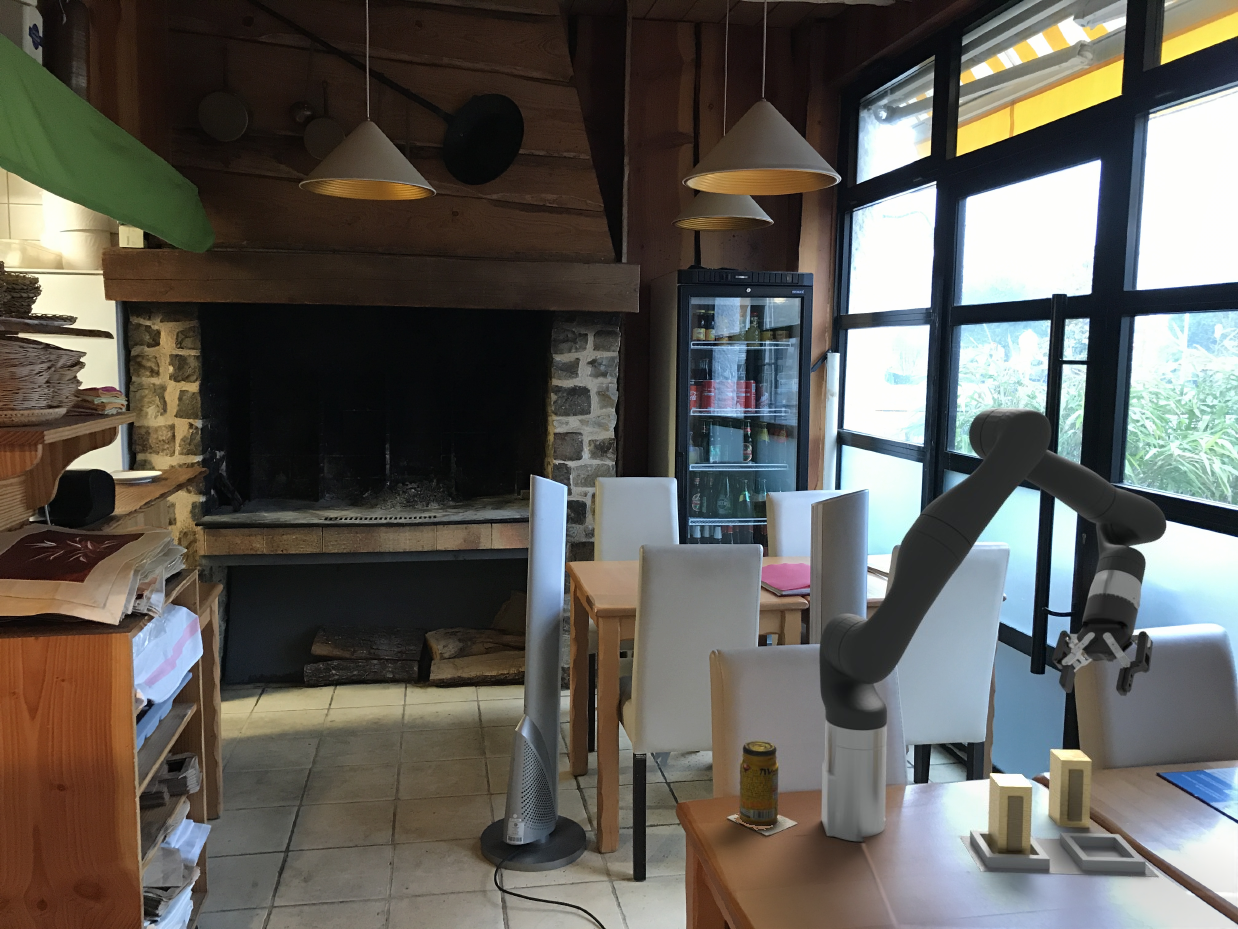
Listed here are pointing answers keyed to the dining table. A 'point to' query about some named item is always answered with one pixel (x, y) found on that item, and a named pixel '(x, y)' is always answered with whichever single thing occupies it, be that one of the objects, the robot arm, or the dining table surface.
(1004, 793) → the block
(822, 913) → the dining table surface
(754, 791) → the condiment
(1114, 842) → the grey double socket tray
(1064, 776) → the block
